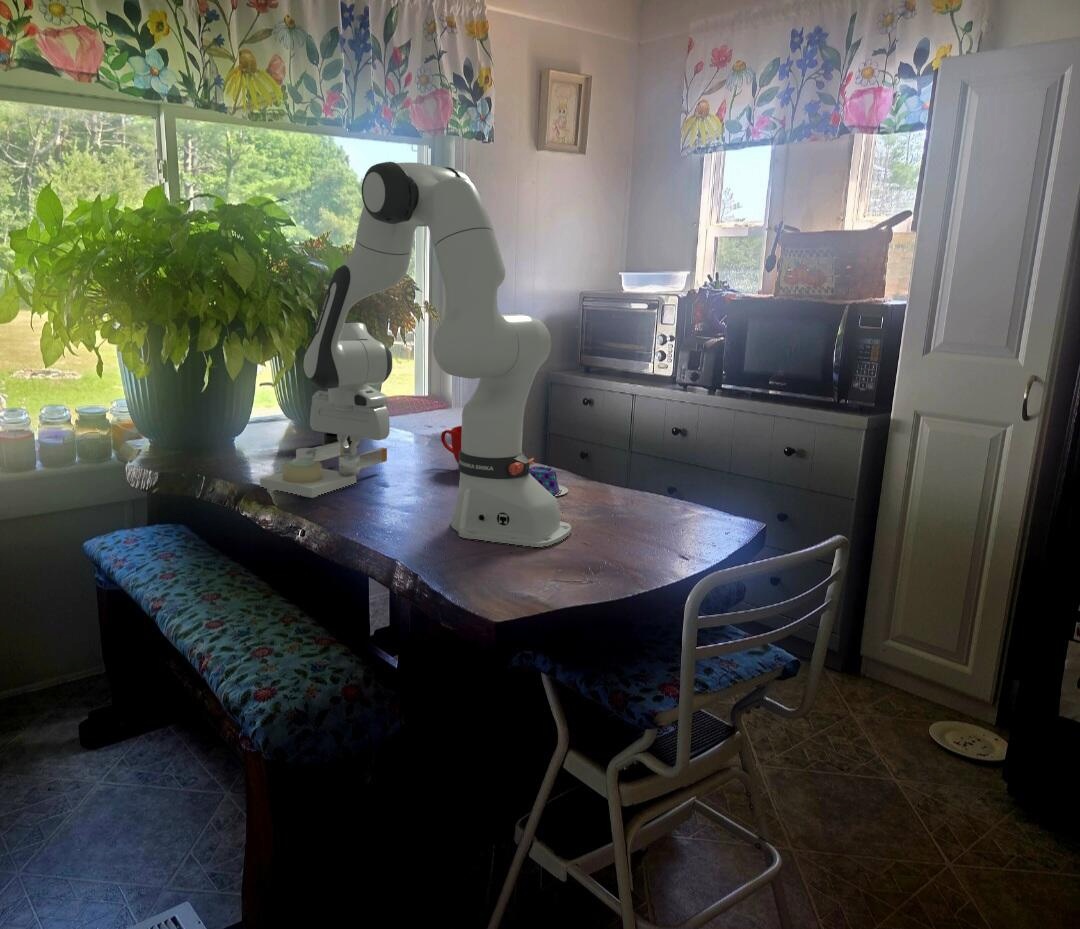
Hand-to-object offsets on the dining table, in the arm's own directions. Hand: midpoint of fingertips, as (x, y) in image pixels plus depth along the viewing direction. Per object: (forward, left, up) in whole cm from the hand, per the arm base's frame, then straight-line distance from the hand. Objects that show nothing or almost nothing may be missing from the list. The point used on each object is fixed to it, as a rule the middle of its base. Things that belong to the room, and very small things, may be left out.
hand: (349, 454), depth 185 cm
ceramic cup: (-22, -18, -4) cm, 28 cm away
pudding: (-44, -11, -5) cm, 45 cm away
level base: (-1, +14, -4) cm, 15 cm away
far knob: (+5, +3, -2) cm, 6 cm away
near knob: (-7, +3, -2) cm, 7 cm away
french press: (+19, -21, -4) cm, 29 cm away
